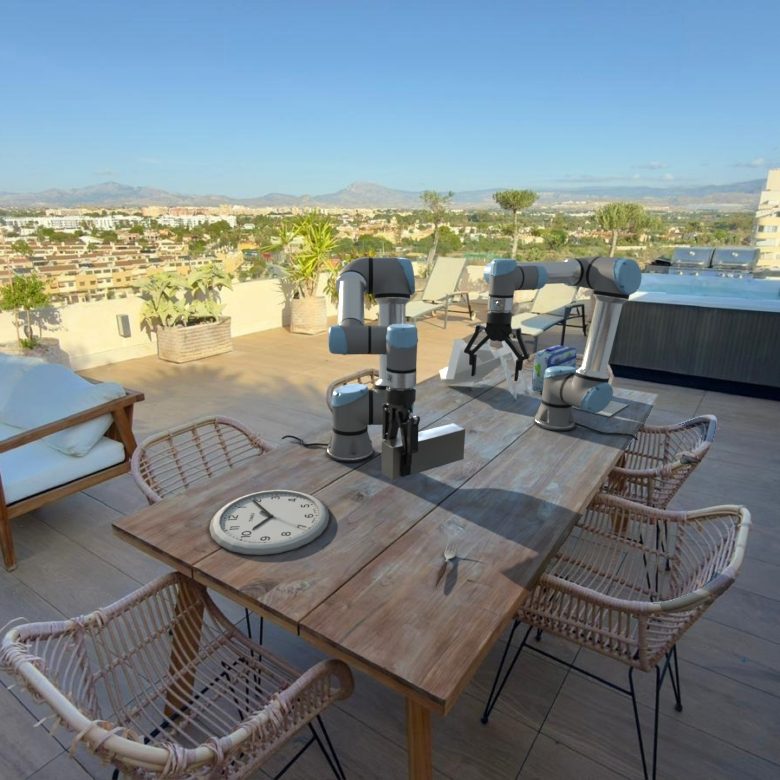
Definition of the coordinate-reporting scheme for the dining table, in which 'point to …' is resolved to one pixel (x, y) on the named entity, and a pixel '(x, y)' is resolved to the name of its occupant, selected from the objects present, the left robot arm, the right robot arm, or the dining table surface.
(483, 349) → the white plastic object
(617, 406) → the invitation card
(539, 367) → the lunch box
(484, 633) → the dining table surface
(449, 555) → the fork
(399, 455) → the bar
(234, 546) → the wall clock
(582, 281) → the right robot arm
